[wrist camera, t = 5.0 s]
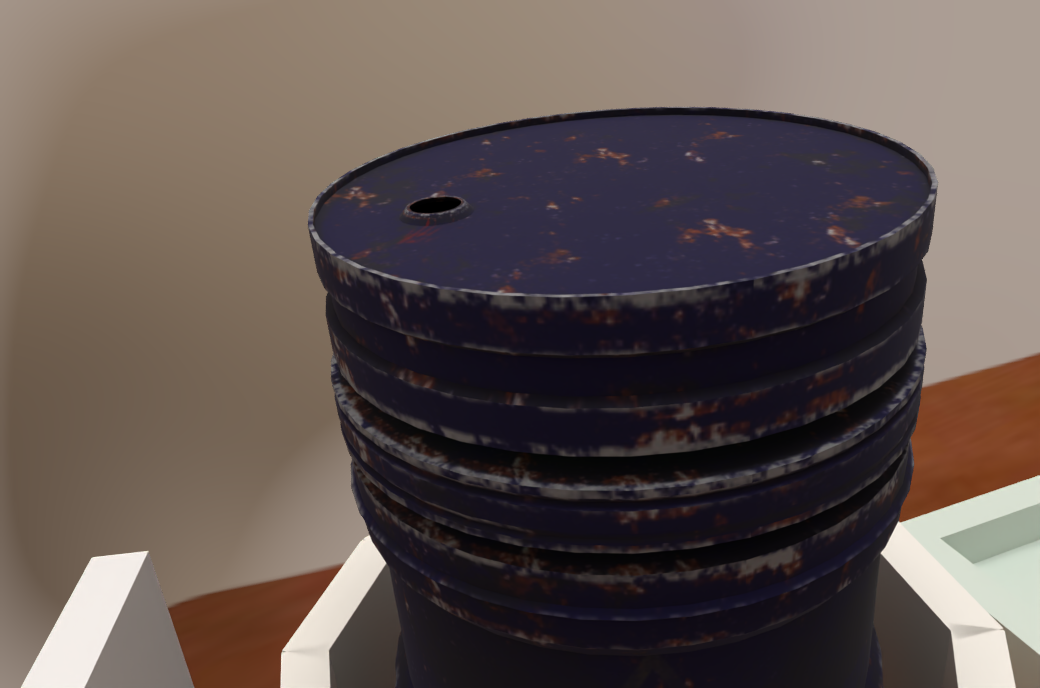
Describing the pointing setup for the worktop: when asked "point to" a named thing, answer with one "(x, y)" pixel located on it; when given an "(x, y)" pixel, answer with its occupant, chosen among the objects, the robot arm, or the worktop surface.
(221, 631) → the worktop surface
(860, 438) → the rusty blue drum
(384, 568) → the holder ring
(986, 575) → the tray
